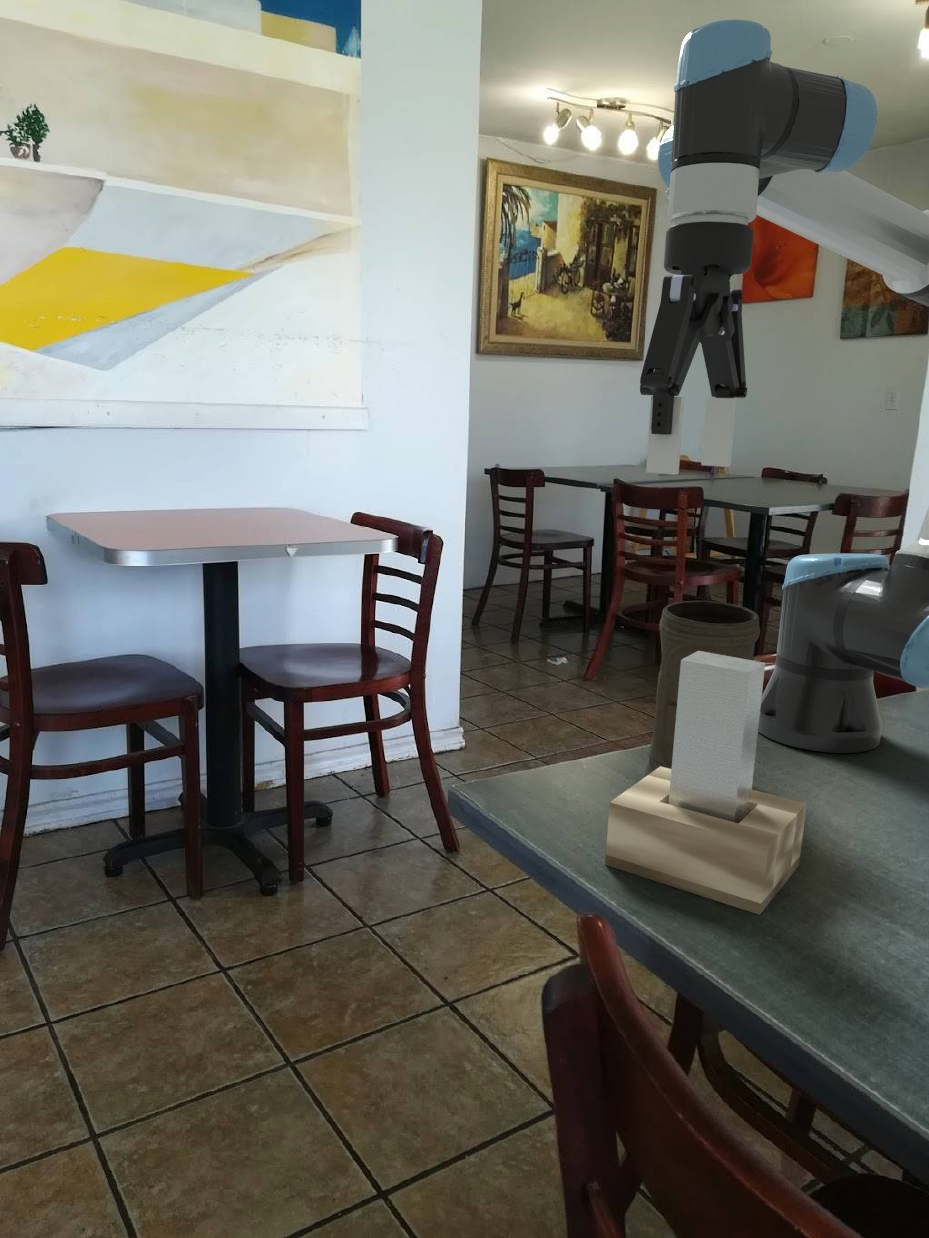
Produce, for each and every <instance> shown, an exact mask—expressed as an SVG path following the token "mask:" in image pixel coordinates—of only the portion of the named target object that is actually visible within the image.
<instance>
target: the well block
mask: <svg viewBox="0 0 929 1238" xmlns="http://www.w3.org/2000/svg"><path fill="white" fill-rule="evenodd" d="M670 780H671V769H669V768H665V767H661V766H660V767H659V768H657V769H656V770H654V771H653V772H652V773H650V774H649V775H647V776H646V777H645V778H644V777H643V778H641V779H640V780H639V781H638V782H636V783H635V784H633V785H632V786H630V787H629V788H628V789H626V790H625V791H624V792H622V793H620V794H619V795H618V796H616V797H615V798H614V799H612V800H611V801H609V807H608V819H607V834H606V835H607V836H606V846H605V863H604V865H605V866H608V867H610V868H614V869H617V870H620V871H623V872H626V873H629V874H632V875H636V876H638V877H641V878H645V879H647V880H651V881H654V882H657V883H660V884H663V885H667V886H669V887H673V888H675V889H678V890H682V891H685V892H687V893H692V894H694V895H697V896H700V897H703V898H706V899H709V900H712V901H716V902H719V903H722V904H725V905H728V906H730V907H733V908H737V909H740V910H743V911H747V912H749V913H753V914H755V915H759V916H760V915H761V914H762V913H763V912H764V911H765V910H766V907H768V905H769V904H770V903H771V902H772V900H774V898H775V897H776V895H777V894H778V893H779V891H780V890H781V889H782V888H783V887H784V886H785V884H786V883H787V882H788V880H789V879H790V877H791V876H793V874H794V872H796V871H797V869H798V868H799V866H800V861H801V854H802V845H803V836H804V828H805V821H806V820H805V819H806V813H807V803H806V802H801V801H798V800H794V799H790V798H786V797H781V796H779V795H776V794H775V795H774V794H771V793H766V792H764V791H763V792H762V791H758V790H755V789H752V791H751V801H750V810H749V814H748V815H747V816H746V817H745V818H744V819H743V820H742V821H741V822H740V823H739V824H738V823H734V822H731V821H727V820H724V819H720V818H716V817H713V816H709V815H705V814H702V813H698V812H694V811H691V810H687V809H684V808H680V807H676V806H673V805H669V804H668V803H669V792H670Z"/></svg>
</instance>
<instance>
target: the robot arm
mask: <svg viewBox="0 0 929 1238" xmlns="http://www.w3.org/2000/svg"><path fill="white" fill-rule="evenodd" d="M771 38H772V35H771V33H770V32H769V30H768V29H767V28H766V27H764V26H763V25H762V24H761V23H759V22H756V21H753V20H748V19H747V20H746V19H723V20H722V19H721V20H717V21H711V22H707V23H704V24H702V25H701V26H698V27H695V28H694V29H692V30H691V31H690V32H689V33H688V34H686V36H685V37H684V39H683V41H682V42H681V43H682V44H681V46H680V51H679V56H678V57H679V59H678V63H677V72H676V73H677V74H676V78H675V79H676V82H675V85H674V89H673V91H674V93H675V94H674V110H673V125H671V126H670V127H669V128H668V129H667V131H666V132H665V133H664V135H663V136H662V139H661V140H660V144H659V149H658V153H657V166H658V167H657V168H658V172H659V174H660V177H661V179H662V181H663V183H664V184H665V187H667V188H666V190H665V192H664V197H665V198H666V200H668V207H667V208H668V209H667V220H668V221H670V222H671V224H673V225H671V226H670V227H669V228H668V230H667V231H666V232H665V242H664V243H665V245H664V259H663V267H664V270H665V271H666V272H667V273H669V274H672V275H665V276H664V277H663V280H662V285H661V286H662V287H661V296H660V304H659V306H658V311H657V314H656V316H655V317H656V318H655V322H654V325H653V329H652V334H651V336H650V337H651V338H650V340H649V345H648V348H647V352H646V355H645V360H644V363H643V365H642V366H643V367H642V371H641V374H640V379H639V384H640V385H639V392H640V393H639V394H641V395H642V396H651V397H650V410H649V425H648V436H647V437H648V439H647V451H646V452H647V454H646V467H645V473H646V474H648V473H649V474H659V475H661V474H662V475H663V474H664V475H673V476H674V475H675V476H676V475H679V473H680V460H681V447H682V432H683V424H684V423H683V420H684V411H685V410H684V408H685V396H679V395H680V393H681V391H682V389H683V386H684V382H685V380H686V378H687V375H688V372H689V370H690V368H691V364H692V362H693V361H694V357H695V354H696V352H697V349H698V347H699V344H701V348H702V349H701V350H702V353H703V358H704V364H705V369H706V374H707V380H708V386H709V389H710V395H711V397H706V403H705V414H704V415H705V416H704V427H703V437H702V449H701V450H702V451H701V464H700V465H701V466H707V467H709V466H710V467H723V468H729V467H731V465H732V456H733V455H732V454H733V441H734V432H735V422H736V421H735V419H736V409H737V400H738V398H739V399H744V398H746V397H747V395H748V386H747V380H746V364H745V363H746V362H745V347H744V345H745V344H744V332H743V330H744V329H743V328H744V327H743V313H742V312H743V299H744V294H743V290H742V289H737V288H736V289H731V282H730V280H731V277H733V276H734V275H742V274H745V273H746V272H748V271H749V270H750V269H751V266H752V259H753V246H754V235H755V234H754V233H755V232H754V229H753V228H752V227H751V226H750V225H749V223H752V222H753V221H754V220H756V218H757V216H758V217H760V218H762V219H764V220H766V221H769V222H770V223H773V224H775V225H777V226H779V227H781V228H784V229H785V230H788V231H790V232H792V233H794V234H796V235H797V236H800V237H802V238H805V240H806V239H807V240H809V241H810V242H812V243H815V244H817V245H819V246H821V247H824V248H826V249H827V250H829V251H832V252H834V253H836V254H838V255H840V256H842V257H844V258H846V259H849V260H850V261H852V262H855V263H857V264H859V265H860V266H861V265H862V266H864V267H865V268H867V269H869V270H871V271H874V272H876V273H878V274H880V275H882V280H883V281H884V283H885V285H886V286H887V287H888V288H889V289H890V290H892V291H893V292H894V293H897V294H900V295H902V296H903V297H905V298H906V299H910V300H912V301H915V302H916V303H919V304H922V305H924V306H926V307H929V209H926V210H923V211H922V210H920V209H918V208H916V207H915V206H913V205H911V204H909V203H908V202H905V201H903V200H902V199H900V198H898V197H895V196H893V195H892V194H890V193H888V192H886V191H884V190H883V189H881V188H878V187H876V185H872V184H871V183H869V182H867V181H866V180H863V178H862V179H861V178H860V177H858V176H856V175H854V174H852V173H850V172H849V171H847V170H848V169H850V168H852V167H853V166H855V165H856V164H857V163H858V162H860V160H861V159H862V158H863V157H864V155H865V154H866V153H867V151H868V150H869V148H870V146H871V145H872V142H873V139H874V136H875V134H876V131H877V122H878V118H877V117H878V114H879V113H878V105H877V102H876V98H875V96H874V95H873V92H872V91H871V90H870V89H869V88H868V87H866V85H864V84H861V83H858V82H854V81H851V80H848V79H845V78H844V76H841V75H828V74H823V73H818V72H813V71H809V70H808V71H807V70H803V69H798V68H793V67H789V66H785V65H783V64H780V63H777V62H774V61H773V62H772V61H770V60H771V58H772V55H773V51H772V50H771V45H772V44H771V41H772V39H771ZM781 587H782V588H781V600H780V601H781V602H780V609H779V611H780V612H779V622H778V624H779V625H778V634H777V644H776V646H777V647H776V656H775V664H774V665H775V666H774V670H773V672H772V673H771V674H772V675H771V676H770V678H769V681H768V682H767V685H766V687H765V689H764V691H763V692H762V698H761V707H760V717H759V726H758V733H760V734H761V735H763V736H764V737H766V738H768V739H770V740H773V741H775V742H776V743H780V744H783V745H786V746H789V747H793V748H797V749H798V748H799V749H802V750H808V751H815V752H822V753H831V754H833V753H834V754H835V753H836V754H850V753H851V754H853V753H863V752H868V751H871V750H873V749H875V748H877V747H878V746H879V745H880V743H881V736H882V730H883V723H882V718H881V715H880V710H879V706H878V700H877V696H876V691H875V686H874V672H875V673H878V674H880V675H884V676H888V677H890V678H894V679H895V680H899V681H902V682H905V683H907V684H909V685H912V686H914V687H916V688H919V689H929V506H928V507H927V510H926V513H925V515H924V517H923V520H922V523H921V526H920V529H919V532H918V534H917V537H916V540H915V541H914V542H913V543H911V544H909V545H907V546H905V547H903V548H901V549H899V550H897V551H896V552H895V554H894V556H893V559H892V562H891V565H890V563H889V558H888V557H887V556H886V555H884V554H879V553H878V554H877V553H813V554H812V553H810V554H801V555H797V556H794V557H793V558H792V559H791V560H789V562H788V564H787V567H786V571H785V577H784V582H783V584H782V586H781Z"/></svg>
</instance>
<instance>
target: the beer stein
mask: <svg viewBox="0 0 929 1238" xmlns="http://www.w3.org/2000/svg"><path fill="white" fill-rule="evenodd" d="M759 617H760V616H759V615H758V614H757V613H756V612H755V611H754V610H752V609H749V608H747V607H744V606H741V605H738V604H733V603H727V602H722V601H714V600H713V601H711V600H688V601H687V600H685V601H684V600H683V601H678V602H674V603H670V604H667V605H666V606H665V607H664V608H663V609H662V613H661V618H660V620H659V624H658V625H659V627H658V629H659V636H660V646H661V664H660V667H659V668H660V669H659V672H658V675H657V676H658V677H657V688H656V702H655V704H656V705H655V712H654V713H655V715H654V725H653V734H652V739H651V743H650V745H649V747H648V750H647V756H648V763H647V764H646V768H645V770H644V773H643V774H644V776H643V778H645V777H646V776H647V775H649V774H650V773H652V772H653V771H654V770H656V769H657V768H659V767H660V766H661V767H665V768H669V769H672V757H673V746H674V735H675V723H676V712H677V700H678V689H679V677H680V666H681V659H683V658H685V657H687V656H689V655H691V654H693V653H695V652H697V651H703V652H708V653H714V654H719V655H725V656H730V657H736V658H741V659H747V660H752V661H754V652H755V647H756V646H755V645H756V642H758V641H757V640H759V638H760V635H761V628H760V618H759Z"/></svg>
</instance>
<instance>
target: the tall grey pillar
mask: <svg viewBox="0 0 929 1238" xmlns="http://www.w3.org/2000/svg"><path fill="white" fill-rule="evenodd" d="M765 667H766V662H764V661H762V662H761V661H756V660H753V661H752V660H747V659H741V658H736V657H730V656H725V655H719V654H714V653H708V652H703V651H697V652H695V653H693V654H691V655H689V656H687V657H685V658H683V659H681V666H680V677H679V689H678V700H677V712H676V723H675V735H674V746H673V757H672V769H671V780H670V792H669V803H668V804H669V805H673V806H676V807H680V808H684V809H687V810H691V811H694V812H698V813H702V814H705V815H709V816H713V817H716V818H720V819H724V820H727V821H731V822H734V823H738V824H739V823H740V822H741V821H742V820H743V819H744V818H745V817H746V816H747V815H748V814H749V810H750V801H751V791H752V790H753V780H754V771H755V763H756V753H757V745H758V744H757V743H758V735H759V734H758V733H759V731H758V726H759V717H760V707H761V698H762V695H763V687H764V678H765Z"/></svg>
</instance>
